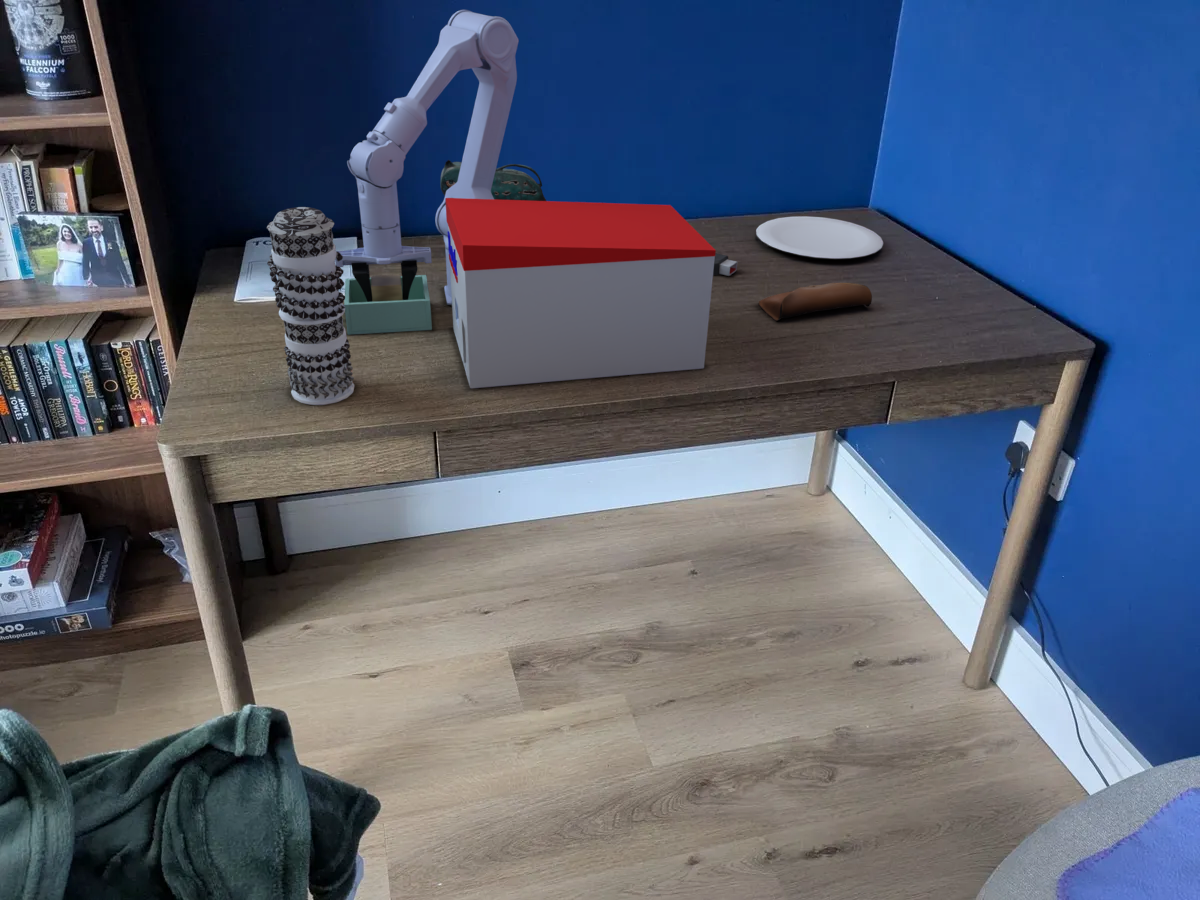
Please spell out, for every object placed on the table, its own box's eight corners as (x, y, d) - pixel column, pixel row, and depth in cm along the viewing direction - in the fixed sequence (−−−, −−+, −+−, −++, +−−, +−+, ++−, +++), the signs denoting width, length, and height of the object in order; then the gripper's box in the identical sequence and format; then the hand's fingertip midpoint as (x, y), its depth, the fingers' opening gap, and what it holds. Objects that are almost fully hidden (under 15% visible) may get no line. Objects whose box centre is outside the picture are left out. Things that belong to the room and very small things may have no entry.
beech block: (403, 309, 155) (400, 274, 152) (404, 320, 152) (401, 284, 149) (374, 310, 155) (371, 275, 151) (374, 322, 151) (371, 286, 148)
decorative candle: (302, 372, 136) (276, 199, 123) (366, 377, 136) (346, 204, 123) (277, 403, 128) (247, 222, 115) (344, 408, 128) (321, 226, 115)
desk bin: (428, 303, 159) (426, 274, 157) (432, 329, 150) (429, 300, 147) (348, 307, 157) (345, 278, 154) (347, 334, 148) (344, 304, 145)
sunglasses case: (842, 288, 169) (859, 264, 163) (859, 320, 166) (877, 297, 160) (754, 301, 162) (768, 277, 157) (770, 335, 159) (785, 311, 154)
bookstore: (450, 328, 150) (443, 197, 140) (662, 313, 158) (671, 188, 147) (467, 389, 133) (460, 245, 123) (704, 368, 141) (717, 231, 130)
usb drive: (680, 257, 182) (681, 243, 180) (738, 270, 176) (740, 256, 175) (668, 264, 178) (668, 250, 176) (726, 278, 173) (727, 264, 171)
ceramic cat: (445, 261, 176) (439, 151, 166) (442, 249, 182) (435, 141, 171) (551, 255, 180) (551, 147, 170) (544, 243, 186) (544, 138, 175)
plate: (880, 230, 199) (882, 222, 198) (883, 271, 178) (885, 263, 177) (760, 218, 203) (761, 210, 202) (749, 257, 182) (750, 249, 182)
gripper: (330, 233, 141) (341, 319, 148) (430, 230, 143) (435, 314, 150) (332, 218, 146) (341, 301, 153) (427, 215, 149) (433, 296, 156)
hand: (388, 306), depth 152 cm, fingers closed on beech block, 5 cm apart
